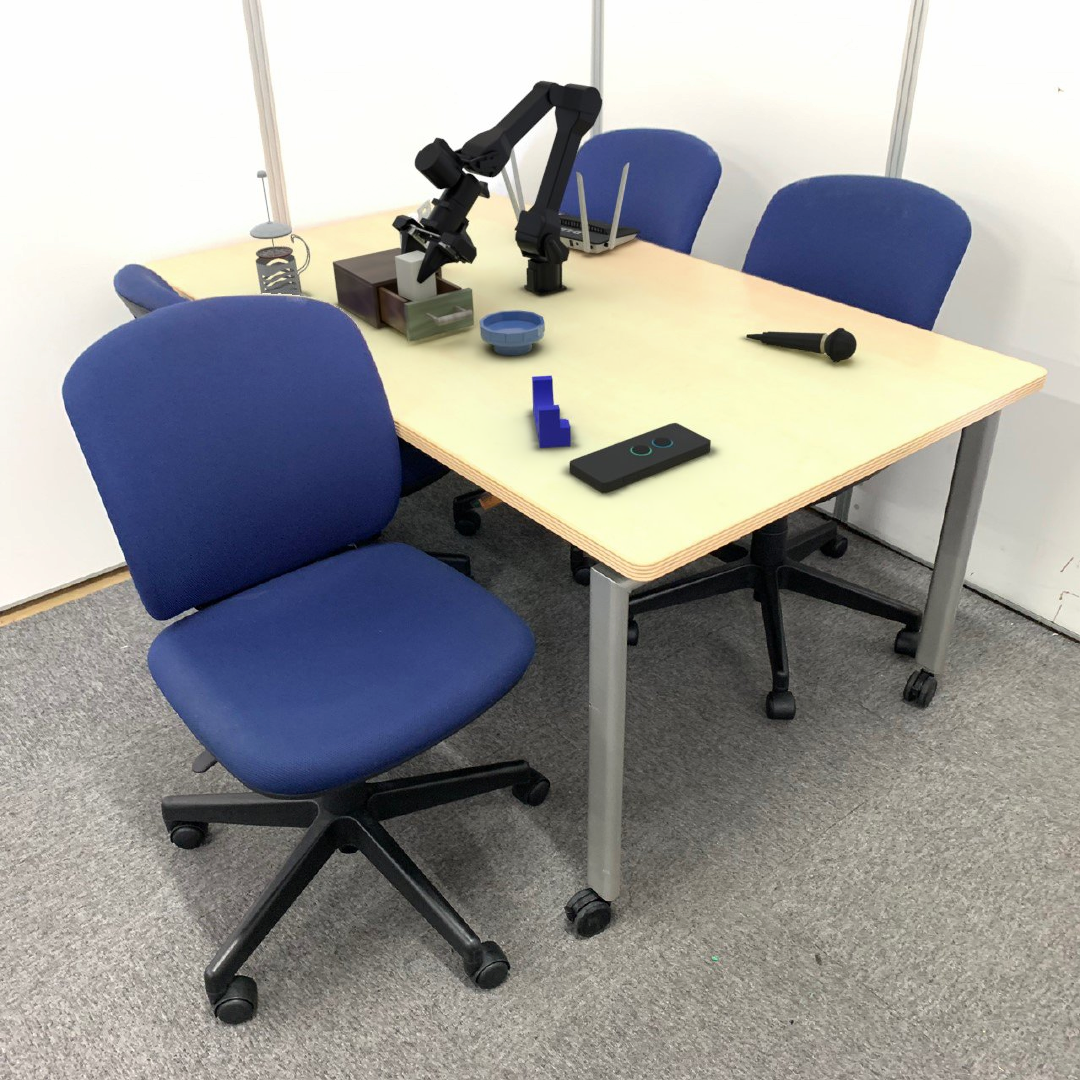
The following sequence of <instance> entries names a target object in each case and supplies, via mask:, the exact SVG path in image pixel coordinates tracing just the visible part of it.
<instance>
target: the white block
mask: <svg viewBox="0 0 1080 1080" xmlns="http://www.w3.org/2000/svg"><path fill="white" fill-rule="evenodd" d="M424 256H425V253H423V252H420V251H418V250H417V251H413V252H410V253H406V254H402V255H399V256H395V263H396V273H397V283H398V293H399V296H402V297H404V298H406V299H409V300H411V301H416V300H420V299H425V298H429V297H433V296H436V295H437V292H436V279H435V273H434V274H432V275H431V276H430V277H429V278H428V279H427V280H425V281H424V282H423V283H422V284H420V283H418V282H417V277H418V273H419V270H420V267H421V264H422V262H423V259H424Z"/></svg>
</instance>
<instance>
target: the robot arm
mask: <svg viewBox="0 0 1080 1080" xmlns="http://www.w3.org/2000/svg"><path fill="white" fill-rule="evenodd" d="M602 107H603V98H602V96H601V93H600V91H599V89H598V88H597V87H595V86H591V85H584V84H577V83H572V82H571V83H566V84H565V85H562V84H559V83H557V82H555V81H549V80H539V81H536V83H534V85H533V87H532V89H531V90H530V91H529V92H528V93H527V94H526V95H524V96H523V98H522V99H521V100H520V101H519V102H518V103H517V104H516V105H515V106H514V107H512V109H511V110H510V111H508V113H507V114H506V115H505V116H503V118H502V119H501V120H500V121H499V122H497V124H495V125H494V126H493V127H491V128H490V129H487V130H484V131H482V132H480V133H477V134H476V135H474V136H473V137H471V138H470V139H468V140H467V141H466V142H465V143H464V144H462V147H460V148H458V149H455V150H454V149H452V147H451V146H450V145H449V143H448V141H446V140H445V139H444V138H441V137H435V138H434V140H433V141H432V142H431V143H428V144H426V145H425V146H424V147H423V148H422V149H420V150H419V151H418V152H417V154H416V155H415V157H414V167H415V169H416V170H417V171H418V172H419V173H420V174H421V175H422V176H423V177H424V178H425V179H426V180H427V181H428V182H430V184H432V185H433V186H434V187H435V188H436V189H437V190H443V191H442V193H441V195H440V196H439V198H436V197H433V198H432V200H431V201H430V204H432V206H433V208H432V209H431V213H430V215H429V217H428V218H427V219H426V218H423V217H422V218H421V220H420V223H421V224H422V225H423V226H424V227H423V226H422V225H420V224H419V223H418V222H417V221H416V220H415V219H414V218H411V217H408V215H405V214H400V215H396V217H395V218H394V221H392V224H391V226H392V227H393V228H394V229H395V230H397V231H398V233H399V232H400V234H401V235H402V247H401V246H400V248H401V255H402V254H406V253H410V252H413V251H417V250H418V251H420V252H423V253H425V256H424V259H423V262H422V264H421V267H420V270H419V273H418V277H417V282H418V283H420V284H422V283H423V282H424V281H425V280H427V279H428V278H429V277H430V276H431V275H432V274H434V273H435V272H436V271H437V270H438V269H440V268H441V269H442V267H444V266H445V265H447V264H458V263H460V262H461V263H462V264H464V265H465V264H466V263H467V264H470V265H473V263H474V262H475V259H476V258H477V256H478V249H477V247H476V246H475V244H474V243H473V239H472V238H471V236H470V235H469V234H468V232H467V230H468V227H469V225H470V220H469V219H468V218H467V216H468V215H469V213H470V211H471V210H472V208H473V206H474V205H475V203H476V201H477V200H478V198H479V197H480V198H484V199H487V200H488V199H490V198H491V194H490V193H491V192H490V190H489V183H488V182H487V181H483V180H479V179H478V178H477V177H476V176H475V175H478V176H481V177H485V178H492V179H493V178H495V177H497V176H498V175H500V174H501V171H502V169H503V168H504V167H505V168H506V165H507V164H508V163H509V161H510V160H511V158H510V156H511V151H512V149H513V148H515V146H516V145H517V144H518V143H520V141H522V139H523V138H524V137H525V136H526V135H527V134H528V133H529V132H530V131H531V130H532V129H533V128H534V127H535V126H536V125H537V124H538V123H540V121H541V120H542V119H543V118H544V117H546V115H547V114H549V112H550V111H551V110H552V109H553V108H554V109H555V110H554V117H555V124H556V133H555V135H554V139H553V142H552V145H551V146H552V147H551V148H550V152H549V155H548V158H547V161H546V166H545V168H544V173H543V175H542V178H541V181H540V185H539V188H538V192H537V194H536V197H535V201H534V204H533V205H532V206H531V207H530V208H529V209H528V210H526V209H525V210H526V211H525V210H522V211H521V212H520V215H519V220H518V222H517V224H516V226H515V227H514V229H513V230H514V231H515V235H514V241H515V243H516V244H517V247H518V248H519V250H520V253H521V255H522V257H523V258H527V267H526V271H525V272H526V284H524V285H523V288H524V289H526V290H528V291H530V292H532V293H534V294H537V295H539V296H546V295H551V294H555V293H558V292H562V291H566V290H568V287H567V285H565V284H563V263H564V262H567V261H569V257H570V256H569V255H570V251H571V250H570V249H569V247H566V246H565V245H564V244H563V243H562V242H561V241H560V240H559V238H560V233H561V224H560V218H559V215H560V210H561V209H560V208H561V205H562V204H563V199H564V196H565V193H566V189H567V187H568V184H569V180H570V178H571V173H572V170H573V167H574V165H575V161H576V158H577V155H578V152H579V149H580V146H581V142H582V139H583V138H584V136H585V135H586V134H588V132H589V131H590V130H591V129H592V128H593V127H594V126H595V124H596V121H597V119H598V117H599V115H600V113H601V110H602ZM466 172H467V173H466ZM430 236H432V237H430ZM427 241H429V245H428V247H427V248H425V247H424V246H423V245H424V244H426V243H427Z"/></svg>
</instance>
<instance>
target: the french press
mask: <svg viewBox="0 0 1080 1080" xmlns="http://www.w3.org/2000/svg"><path fill="white" fill-rule="evenodd" d="M267 177H268V174H267V172H266V171H265V170H258V171H257V173H256V178H258V179H261V180H262V187H263V193H264V199H265V205H266V212H267V217H268V218H267V219H268V221H265V222H262V223H260V224H258V225H255V226H254V227H252V229H251V230H249V235H250V236H251V237H252V238H253V239H258V240H271V243H272V246H266V247H262V248H260V249H258V250H257V251H256V252H255V255H256V257H258V258H256V259H255V265H256V266H255V267H256V273H257V276H258V283H259V289H260V294H261V293H271V294H278V293H281V294H292V295H300V296H306V297H307V295H306V294H305V293H303V292H302V285H301V277H300V275H301V274H302V273H303V272H304V271H306V270H307V268H308V267H309V265H310V262H311V252H310V247H309V245H308V244H307V242H306V241H305V240H304V239H303V237H301V236H299V235H297V234H295V233H292V232H293V228H292V227H291V226H289V225H288V224H286V223H283V222H279V221H272V220H271V218H270V212H269V206H268V201H267V195H266V188H265V181H264V179H266V178H267ZM289 235H290V241H291V243H292V244H295V239H297V240H300V241H301V242H303V244H304V247H305V249H306V258H305V262H304V264H303V265H302V266H301V267H300V268H298V266H297V260H296V256H294V254H293V252H294V250H293V248H292V247H289V246H284V245H280V246H279V245H278V246H277V245H276V246H275V242H274V240H275V239H279V238H280V239H281V238H284V237H287V236H289ZM278 259H279V260H284V261H286V262H283V261H276V260H278ZM272 261H276V262H272ZM271 262H272V263H271ZM270 263H271V264H270ZM279 272H281V273H279ZM277 273H279V274H277ZM271 276H272V278H270V277H271ZM269 278H270V279H269ZM270 284H271V285H270Z"/></svg>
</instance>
